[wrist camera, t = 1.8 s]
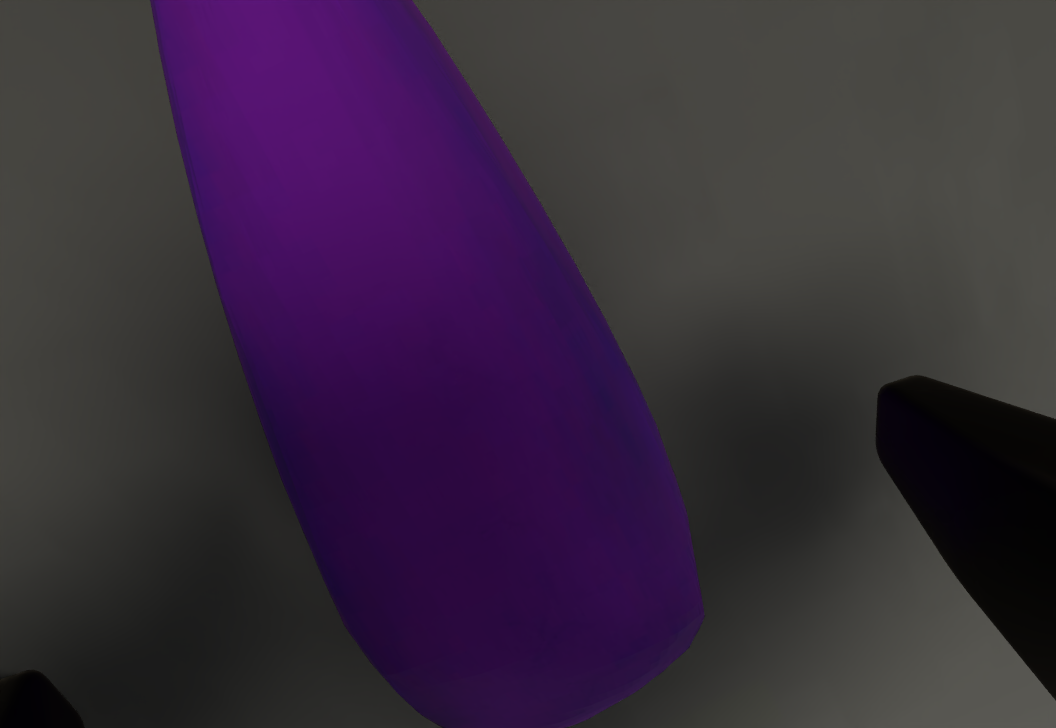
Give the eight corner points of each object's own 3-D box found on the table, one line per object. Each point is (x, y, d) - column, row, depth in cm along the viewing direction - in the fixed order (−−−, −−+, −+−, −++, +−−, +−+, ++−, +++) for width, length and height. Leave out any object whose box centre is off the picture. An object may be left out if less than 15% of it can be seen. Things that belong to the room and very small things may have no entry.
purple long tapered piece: (408, -480, 6) (776, 766, 13) (375, -304, 10) (667, 563, 17) (-242, -236, 6) (493, 886, 13) (-1, -163, 10) (453, 653, 17)
